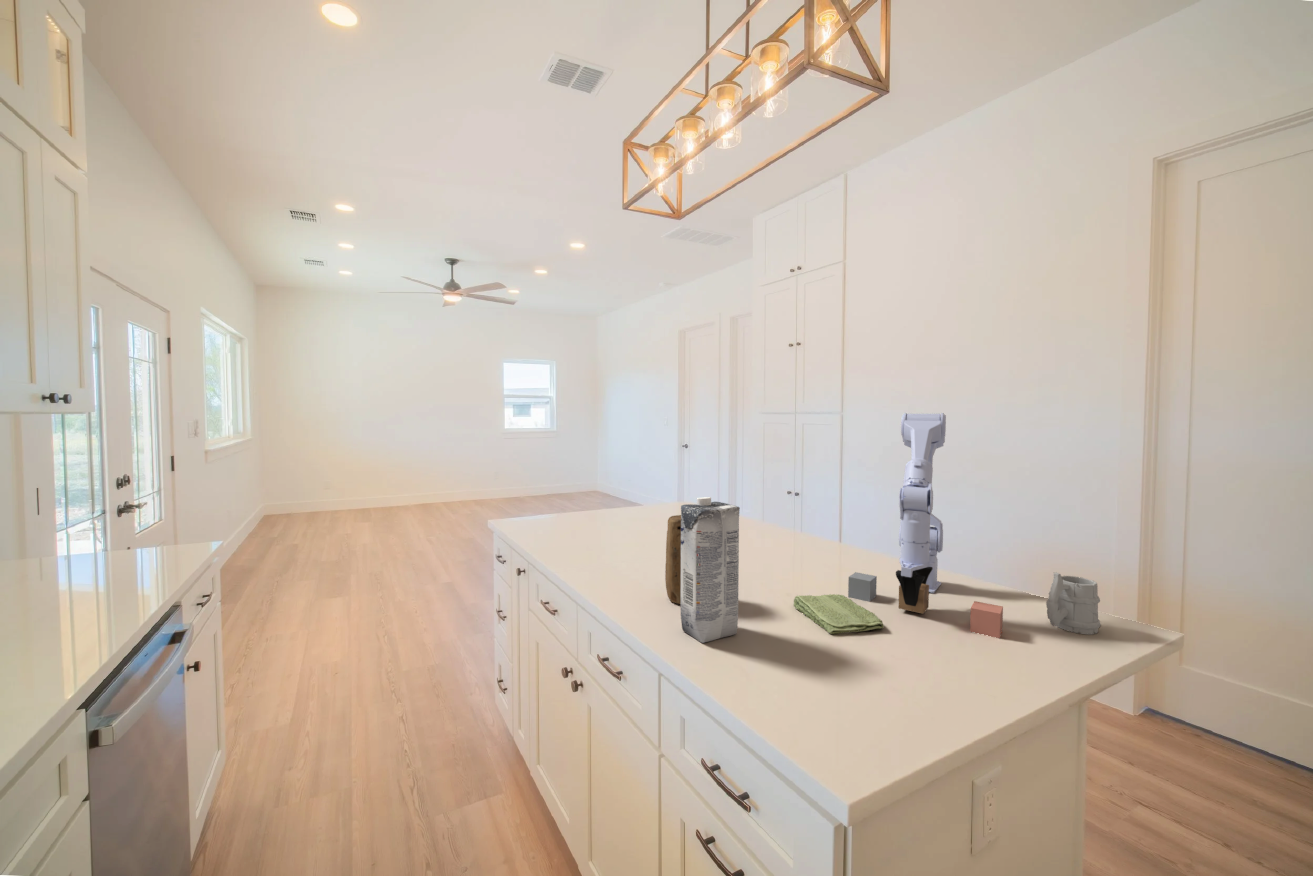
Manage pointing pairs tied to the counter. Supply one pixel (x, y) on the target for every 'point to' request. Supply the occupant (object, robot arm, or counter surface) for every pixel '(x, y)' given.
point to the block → (673, 559)
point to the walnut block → (921, 603)
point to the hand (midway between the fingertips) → (913, 601)
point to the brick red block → (986, 619)
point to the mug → (1073, 604)
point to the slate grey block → (862, 586)
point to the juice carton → (709, 569)
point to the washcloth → (837, 613)
